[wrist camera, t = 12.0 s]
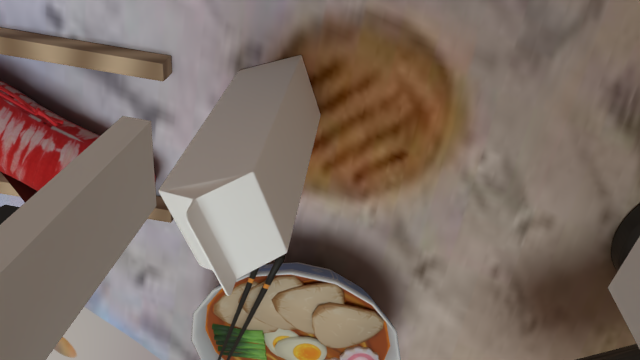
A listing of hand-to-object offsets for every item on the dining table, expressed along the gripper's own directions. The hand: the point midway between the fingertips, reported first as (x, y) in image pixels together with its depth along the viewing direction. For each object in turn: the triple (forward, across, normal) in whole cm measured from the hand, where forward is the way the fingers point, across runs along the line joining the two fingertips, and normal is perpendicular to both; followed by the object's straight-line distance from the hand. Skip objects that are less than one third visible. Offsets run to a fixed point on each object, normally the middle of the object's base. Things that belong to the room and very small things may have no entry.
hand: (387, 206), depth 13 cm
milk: (+30, +8, +10) cm, 33 cm away
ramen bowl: (+31, +3, +36) cm, 48 cm away
